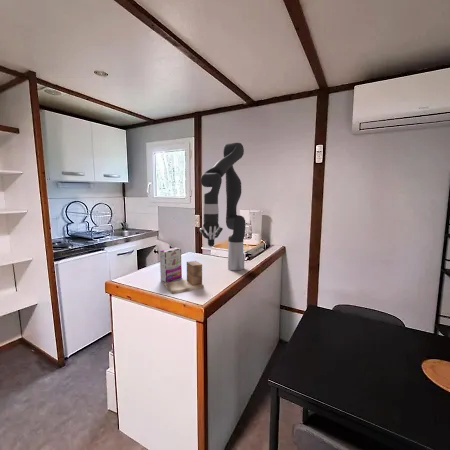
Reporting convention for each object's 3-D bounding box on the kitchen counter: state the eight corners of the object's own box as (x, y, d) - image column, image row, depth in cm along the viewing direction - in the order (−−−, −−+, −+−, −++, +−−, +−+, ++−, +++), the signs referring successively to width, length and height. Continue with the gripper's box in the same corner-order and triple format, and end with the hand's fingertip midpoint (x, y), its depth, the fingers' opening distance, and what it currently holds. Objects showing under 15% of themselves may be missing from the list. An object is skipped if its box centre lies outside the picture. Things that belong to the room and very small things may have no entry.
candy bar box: (175, 275, 144) (175, 247, 142) (182, 277, 141) (181, 248, 139) (159, 280, 135) (159, 250, 133) (166, 282, 132) (165, 251, 130)
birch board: (194, 280, 136) (194, 278, 136) (203, 287, 126) (203, 285, 126) (164, 285, 128) (164, 283, 128) (172, 293, 118) (172, 291, 118)
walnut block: (195, 279, 134) (195, 260, 133) (202, 283, 127) (202, 264, 126) (186, 280, 132) (186, 261, 131) (192, 285, 125) (192, 265, 124)
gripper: (219, 212, 137) (218, 243, 139) (196, 212, 130) (196, 246, 132) (226, 212, 130) (225, 246, 132) (202, 213, 123) (202, 248, 126)
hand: (211, 246), depth 132 cm, fingers closed
